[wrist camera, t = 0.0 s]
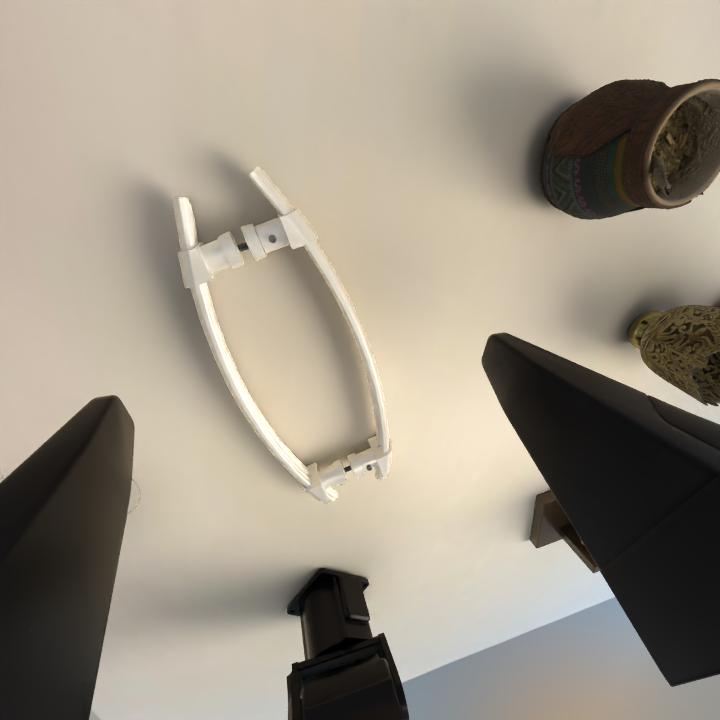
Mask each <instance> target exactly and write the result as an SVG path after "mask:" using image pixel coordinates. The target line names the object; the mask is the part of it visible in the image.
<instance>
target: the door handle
mask: <svg viewBox="0 0 720 720" xmlns="http://www.w3.org/2000/svg"><path fill="white" fill-rule="evenodd" d="M249 177H250V178H251V180H252V181H253V182H254V183H255V185H256V186H257V187H258V188H259V189H260V191H261V192H262V193H263V194H264V195H265V197H266V198H267V199H268V200H269V201H270V202H271V204H272V205H273V206H274V207H275V208H276V210H277V211H278V212H279V213H278V214H277V216H278V218H275V219H272V220H270V221H267V222H264V223H261V224H259V225H256V226H254V225H253V223H252V224H249V225H245V226H242V227H241V230H242V233H243V235H244V238H245V240H246V243H242V244H240V245H237V243H236V241H235V239H234V237H233V235H232V234H231V232H230V231H228V232H226V233H224V234H222V235H219V236H218V240H215V241H212V242H210V243H207V244H203V243H202V242H199V243H198V239H197V231H196V224H195V217H194V215H193V212H192V205H191V203H189V199H188V197H173V206H174V212H175V218H176V224H177V231H178V237H179V243H180V247H181V251H179V252H178V257H179V262H180V267H181V272H182V277H183V282H184V287H185V288H190V290H191V293H192V296H193V300H194V303H195V306H196V309H197V313H198V316H199V319H200V323H201V325H202V328H203V330H204V333H205V336H206V338H207V341H208V344H209V346H210V349H211V352H212V354H213V357H214V359H215V361H216V363H217V365H218V367H219V369H220V372H221V374H222V376H223V378H224V380H225V382H226V385H227V386H228V388H229V390H230V392H231V394H232V395H233V397H234V399H235V401H236V403H237V404H238V406H239V408H240V410H241V411H242V413H243V414H244V416H245V417H246V419H247V420H248V422H249V423H250V425H251V426H252V428H253V429H254V431H255V432H256V434H257V435H258V436H259V438H260V439H261V440H262V441H263V443H264V444H265V445H266V447H267V448H268V449H269V450H270V452H271V453H272V454H273V455H274V456H275V457H276V459H277V460H278V461H279V462H280V463H281V464H282V465H283V466H284V467H285V468H286V469H287V471H288V472H289V473H290V474H291V475H292V476H294V477H295V478H296V479H297V483H298V485H299V487H300V488H302V489H303V490H304V491H306V492H307V493H308V494H310V495H311V496H312V497H314V498H315V499H317V500H319V501H323V502H324V503H326V504H328V503H330V502H332V501H334V500H336V498H337V497H338V496H337V494H338V492H336V491H335V490H334V489H332V488H331V487H332V486H335V485H337V484H340V485H342V484H345V483H347V482H349V481H348V478H347V475H346V472H348V471H350V470H353V473H354V475H355V477H356V479H357V478H359V477H361V476H362V475H364V474H363V473H364V472H366V471H370V470H371V469H373V468H375V467H376V469H375V477H377V479H380V480H381V479H383V478H385V477H387V476H388V475H389V469H390V467H391V463H392V447H393V443H392V440H391V439H390V438H389V427H388V419H387V411H386V403H385V399H384V394H383V389H382V384H381V379H380V376H379V372H378V369H377V365H376V362H375V358H374V355H373V352H372V349H371V346H370V343H369V341H368V338H367V335H366V333H365V330H364V327H363V325H362V323H361V321H360V319H359V316H358V314H357V312H356V310H355V308H354V305H353V303H352V301H351V299H350V297H349V295H348V293H347V291H346V290H345V288H344V286H343V284H342V282H341V280H340V278H339V277H338V275H337V273H336V271H335V269H334V268H333V266H332V264H331V263H330V261H329V260H328V258H327V256H326V255H325V253H324V252H323V250H322V248H321V247H320V245H319V244H318V242H317V240H316V239H318V238H319V236H318V234H317V233H316V232H315V230H314V229H313V228H312V226H311V225H310V224H309V222H308V221H307V220H306V218H305V217H304V216H303V214H302V213H301V212H300V210H299V209H298V208H295V209H294V208H293V207H292V205H291V204H290V202H289V201H288V200H287V199H286V198H285V196H284V195H283V194H282V193H281V191H280V190H279V189H278V188H277V187H276V185H275V184H274V183H273V182H272V180H271V179H270V178H269V177H268V175H267V174H266V173H265V172H264V171H263V169H261V168H260V167H257V168H256V169H255V170H254V171H253V172H252V173H251V174H250V175H249ZM288 245H290V247H291V248H292V250H293V249H296V248H299V247H301V246H304V247H305V249H306V251H307V252H308V254H309V255H310V257H311V258H312V260H313V261H314V263H315V264H316V266H317V267H318V269H319V270H320V272H321V274H322V275H323V277H324V279H325V281H326V282H327V284H328V286H329V288H330V290H331V291H332V293H333V295H334V297H335V298H336V300H337V302H338V304H339V306H340V308H341V310H342V313H343V315H344V317H345V319H346V321H347V323H348V325H349V327H350V330H351V332H352V335H353V337H354V340H355V342H356V345H357V347H358V350H359V353H360V356H361V359H362V363H363V366H364V369H365V372H366V376H367V380H368V384H369V389H370V393H371V398H372V404H373V411H374V418H375V428H376V436H374V437H372V438H369V439H367V440H368V442H369V445H370V447H371V448H370V449H367V450H365V451H363V452H361V453H358V454H355V453H353V454H350V455H348V456H347V457H348V460H349V463H350V466H348V467H345V468H344V467H343V465H342V463H341V461H340V459H339V460H337V461H335V462H333V463H332V465H331V466H329V467H326V468H324V469H322V470H319V468H318V466H317V464H316V462H315V463H313V464H310V465H308V466H305V465H304V464H303V463H302V462H301V461H300V460H299V459H298V458H297V457H296V456H295V455H294V454H293V453H292V452H291V451H290V450H289V448H288V447H287V446H286V445H285V444H284V443H283V442H282V440H281V439H280V438H279V437H278V435H277V434H276V433H275V431H274V430H273V429H272V427H271V426H270V425H269V423H268V422H267V420H266V419H265V418H264V416H263V415H262V413H261V411H260V410H259V408H258V407H257V405H256V403H255V402H254V400H253V399H252V397H251V395H250V393H249V392H248V390H247V388H246V386H245V384H244V382H243V380H242V378H241V376H240V374H239V372H238V370H237V368H236V366H235V363H234V361H233V359H232V356H231V354H230V352H229V350H228V347H227V345H226V342H225V339H224V336H223V334H222V331H221V328H220V325H219V322H218V320H217V317H216V314H215V310H214V307H213V303H212V300H211V296H210V292H209V289H208V285H207V282H209V281H211V280H213V278H214V275H215V273H216V272H219V271H221V270H224V269H227V268H229V267H232V269H236V268H239V267H242V266H245V262H244V259H243V256H242V254H241V252H240V251H243V250H247V249H250V251H251V253H252V255H253V257H254V259H255V261H258V260H261V259H263V258H265V257H267V255H266V254H267V253H269V252H272V251H275V250H277V249H280V248H283V247H285V246H288Z"/></svg>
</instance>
